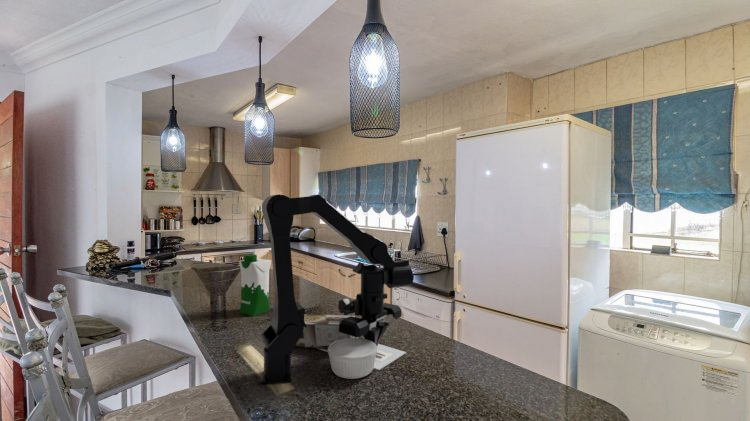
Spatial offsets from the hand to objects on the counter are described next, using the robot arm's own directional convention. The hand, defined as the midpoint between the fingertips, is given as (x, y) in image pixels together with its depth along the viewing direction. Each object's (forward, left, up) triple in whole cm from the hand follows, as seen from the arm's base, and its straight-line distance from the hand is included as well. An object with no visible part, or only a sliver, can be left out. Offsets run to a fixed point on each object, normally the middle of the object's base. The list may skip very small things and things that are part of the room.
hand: (371, 352), depth 87 cm
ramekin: (-6, +5, -1) cm, 8 cm away
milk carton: (+41, +35, -1) cm, 54 cm away
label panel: (+5, +3, -1) cm, 6 cm away
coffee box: (+13, +19, +2) cm, 24 cm away
